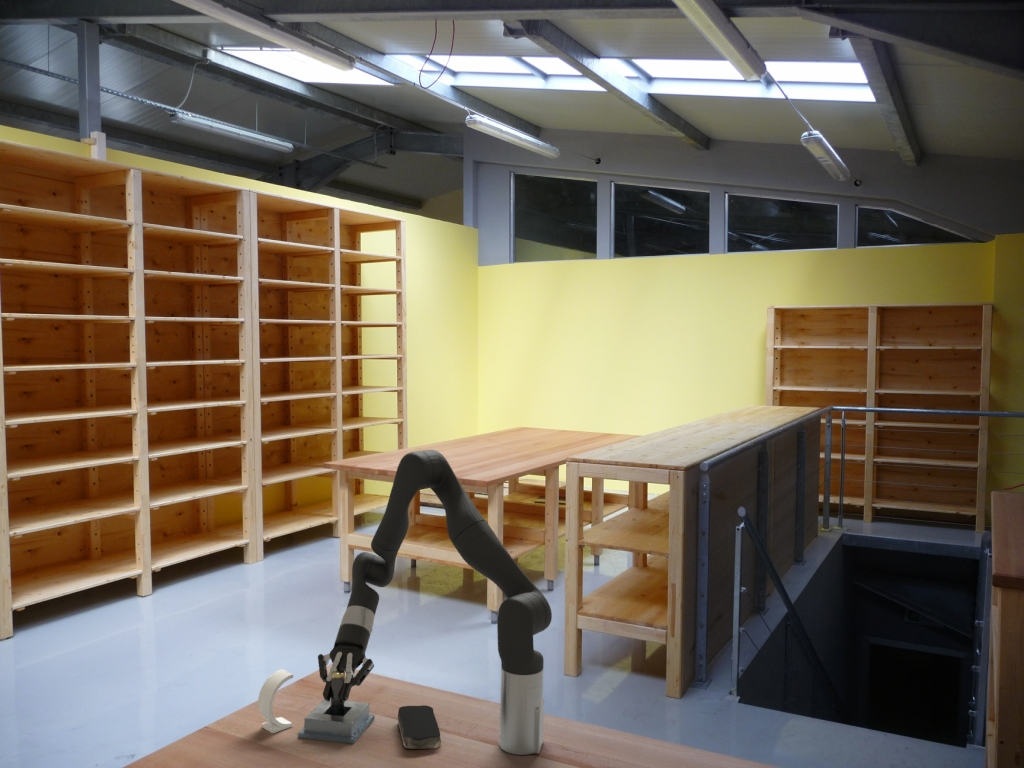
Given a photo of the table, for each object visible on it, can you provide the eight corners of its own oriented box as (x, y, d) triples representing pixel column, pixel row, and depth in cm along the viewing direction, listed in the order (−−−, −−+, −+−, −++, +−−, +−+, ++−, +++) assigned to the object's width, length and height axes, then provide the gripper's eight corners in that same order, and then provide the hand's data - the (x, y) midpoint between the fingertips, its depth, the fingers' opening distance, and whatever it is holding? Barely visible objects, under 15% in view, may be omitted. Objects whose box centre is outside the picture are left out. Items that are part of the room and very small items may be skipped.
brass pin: (346, 712, 188) (346, 671, 187) (340, 717, 185) (341, 675, 184) (333, 710, 188) (334, 669, 188) (328, 716, 185) (329, 674, 185)
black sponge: (396, 721, 191) (396, 706, 191) (432, 718, 193) (433, 703, 193) (403, 754, 175) (403, 737, 175) (442, 751, 177) (443, 734, 177)
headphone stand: (292, 726, 187) (293, 674, 186) (268, 735, 182) (269, 681, 182) (281, 720, 190) (282, 668, 189) (257, 728, 185) (258, 675, 185)
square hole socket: (374, 719, 192) (374, 701, 192) (353, 743, 179) (354, 725, 179) (321, 713, 194) (322, 696, 194) (297, 737, 181) (298, 719, 181)
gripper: (323, 619, 195) (299, 690, 183) (379, 624, 192) (359, 697, 180) (331, 634, 200) (309, 704, 188) (386, 639, 197) (367, 711, 186)
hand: (334, 700), depth 184 cm, fingers closed on brass pin, 3 cm apart
